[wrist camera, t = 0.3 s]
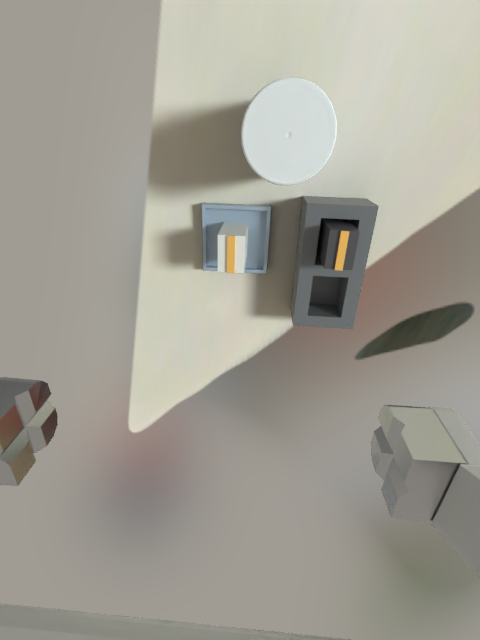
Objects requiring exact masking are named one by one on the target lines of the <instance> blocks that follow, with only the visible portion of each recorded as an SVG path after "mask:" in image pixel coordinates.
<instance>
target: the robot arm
mask: <svg viewBox="0 0 480 640" xmlns="http://www.w3.org/2000/svg"><path fill="white" fill-rule="evenodd" d="M50 395H51V392H50V389H49V386H48V383H46V382H43V381H39V380H29V379H18V378H7V377H3V378H2V377H0V485H12V486H18V485H19V484H20V483H21V481H22V480H23V478H24V477H25V476H26V474H27V473H28V471H29V470H30V469H31V467H32V466H33V464H34V463H35V462H36V457H35V453H36V452H37V451H39V450H41V449H43V448H44V447H46V446H47V445H48V444H49V442H50V441H51V439H52V437H53V436H54V433H55V430H56V427H57V412H56V408H55V407H54V406H53V405H52V404H51V403H50V402H48V401H47V400H48V398H49V397H50ZM378 418H379V421H380V424H381V426H380V427H379V428H378V429H376V430H375V431H374V433H373V437H372V441H371V455H372V461H373V465H374V468H375V472H376V473H377V474H378V475H379V476H380V477H381V478H383V479H384V483H383V486H382V493H383V496H384V499H385V502H386V505H387V508H388V511H389V514H390V516H391V518H397V519H406V520H415V521H424V522H432V526H433V527H434V528H435V529H436V530H437V531H438V532H439V534H440V535H441V536H442V537H443V538H444V539H445V540H446V541H447V542H448V544H449V545H451V547H452V548H453V549H454V550H455V551H456V552H457V553H458V555H459V556H460V557H461V558H462V559H463V560H464V561H465V562H466V563H467V564H468V566H469V567H470V568H471V569H472V570H473V571H474V572H475V573H476V575H477V576H478V577H479V578H480V445H479V443H478V442H477V440H476V439H475V437H474V436H473V434H472V433H471V432H470V430H469V429H468V427H467V426H466V425H465V423H464V422H463V420H462V419H461V417H460V416H459V415H458V413H457V412H456V411H454V410H453V409H451V408H437V407H428V408H426V407H412V406H397V405H383V407H382V408H381V410H380V413H379V416H378ZM0 640H351V639H341V638H332V637H322V636H312V635H302V634H293V633H283V632H274V631H264V630H254V629H244V628H234V627H225V626H216V625H206V624H196V623H187V622H177V621H167V620H158V619H147V618H138V617H128V616H119V615H108V614H99V613H89V612H80V611H70V610H61V609H51V608H41V607H32V606H22V605H12V604H1V603H0Z"/></svg>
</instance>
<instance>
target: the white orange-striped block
mask: <svg viewBox="0 0 480 640" xmlns="http://www.w3.org/2000/svg"><path fill="white" fill-rule="evenodd" d="M247 244H248V223H244V222H224V223H223V225H222V227H221V229H220V231H219V233H218V272H227V273H244V270H245V264H246V259H247Z"/></svg>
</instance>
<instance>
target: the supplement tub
mask: <svg viewBox="0 0 480 640" xmlns="http://www.w3.org/2000/svg"><path fill="white" fill-rule="evenodd" d="M336 135H337V121H336V115H335V111H334V108H333V105H332V103H331V101H330V100H329V98H328V96H327V95H326V94H325V93H324V91H323V90H322V89H321V88H319V87H318V86H317V85H316V84H314V83H312V82H310V81H308V80H305V79H302V78H296V77H290V78H283V79H279V80H276V81H274V82H272V83H270V84H268V85H267V86H265V87H264V88H262V89H261V90H260V91H259V92H258V93H257V94H256V95H255V97H254V98H253V99H252V101H251V102H250V104H249V105H248V107H247V109H246V112H245V114H244V117H243V121H242V126H241V144H242V149H243V153H244V156H245V158H246V160H247V162H248V164H249V165H250V167H251V168H252V169H253V171H254V172H255V173H256V174H257V175H259V176H260V177H261V178H263V179H264V180H266V181H268V182H270V183H273V184H277V185H294V184H298V183H301V182H304V181H306V180H308V179H309V178H311V177H312V176H314V175H315V174H316V173H317V172H319V171H320V169H321V168H322V167H323V166H324V165H325V163H326V162H327V160H328V159H329V157H330V155H331V153H332V150H333V148H334V145H335V140H336Z"/></svg>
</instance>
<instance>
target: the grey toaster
mask: <svg viewBox="0 0 480 640" xmlns="http://www.w3.org/2000/svg"><path fill="white" fill-rule="evenodd" d="M377 211H378V205H376V204H374V203H373V202H371V201H369V200H368V199H360V198H336V197H312V196H303V201H302V210H301V219H300V228H299V237H298V246H297V255H296V264H295V273H294V282H293V291H292V300H291V315H292V322H293V325H294V326H311V327H328V328H346V329H352V328H353V324H354V319H355V314H356V310H357V305H358V300H359V296H360V291H361V286H362V281H363V277H364V272H365V267H366V263H367V258H368V253H369V249H370V244H371V239H372V235H373V230H374V225H375V221H376V216H377Z"/></svg>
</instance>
